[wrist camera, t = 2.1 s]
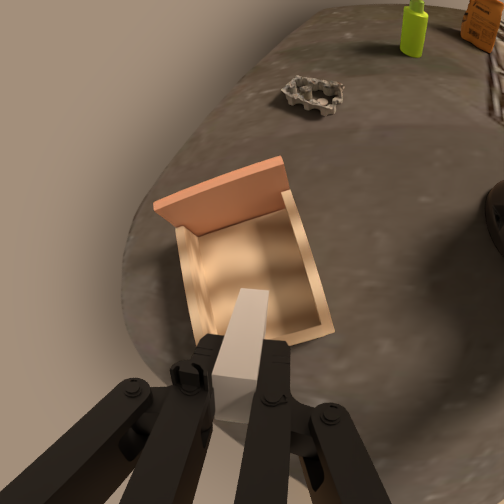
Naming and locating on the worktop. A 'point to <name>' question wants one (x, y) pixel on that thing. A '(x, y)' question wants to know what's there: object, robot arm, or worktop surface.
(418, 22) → the soap dispenser
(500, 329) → the worktop surface
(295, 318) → the wooden open box
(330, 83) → the egg carton
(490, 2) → the coffee package
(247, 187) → the panel
